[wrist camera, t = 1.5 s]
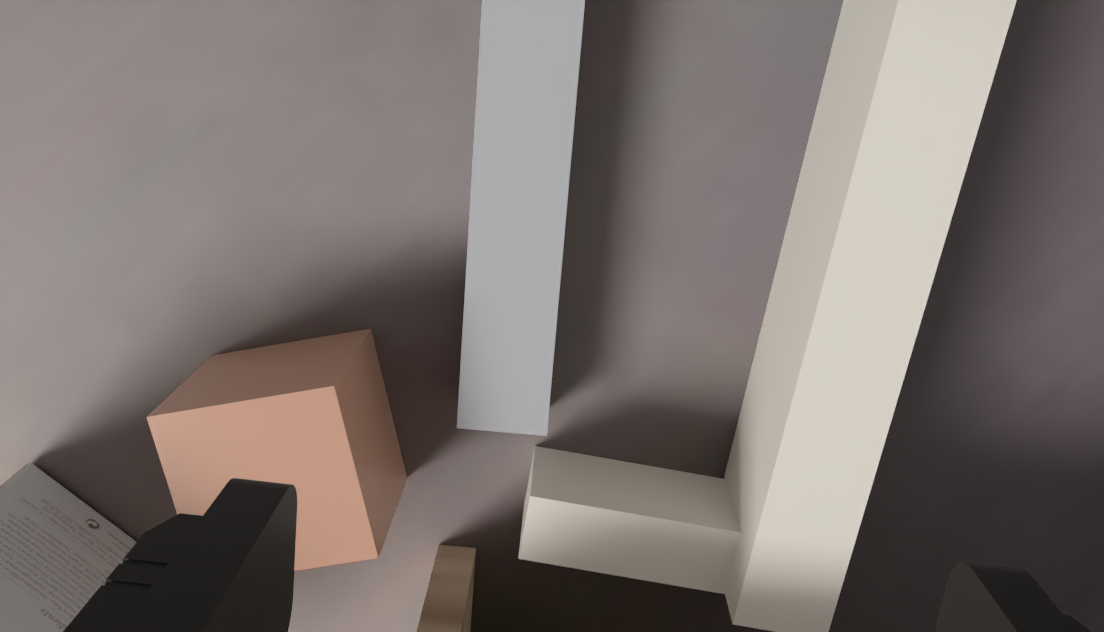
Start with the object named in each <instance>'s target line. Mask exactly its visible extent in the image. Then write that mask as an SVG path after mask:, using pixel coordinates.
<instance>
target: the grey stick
mask: <svg viewBox="0 0 1104 632" xmlns="http://www.w3.org/2000/svg"><path fill="white" fill-rule="evenodd" d="M584 7H585V0H482V12H481V28H480V45H479V62H478V79H477V95H476V112H475V129H474V146H473V162H472V179H471V196H470V213H469V229H468V246H467V263H466V280H465V296H464V313H463V330H462V347H461V363H460V380H459V397H458V414H457V428H459V429H471V430H483V431H494V432H506V433H518V434H530V435H542V436H547V429H548V417H549V406H550V395H551V383H552V372H553V360H554V349H555V338H556V326H557V315H558V304H559V292H560V281H561V269H562V258H563V247H564V235H565V224H566V212H567V201H568V190H569V178H570V167H571V155H572V144H573V133H574V121H575V110H576V98H577V87H578V76H579V64H580V53H581V42H582V30H583V19H584Z"/></svg>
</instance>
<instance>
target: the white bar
mask: <svg viewBox="0 0 1104 632" xmlns="http://www.w3.org/2000/svg"><path fill="white" fill-rule="evenodd" d="M1016 1H1017V0H844V1H843V5H842V9H841V13H840V17H839V21H838V25H837V29H836V33H835V37H834V41H833V45H832V49H831V53H830V57H829V61H828V65H827V69H826V73H825V77H824V81H823V85H822V89H821V93H820V97H819V101H818V105H817V109H816V113H815V117H814V121H813V124H812V128H811V132H810V136H809V140H808V144H807V148H806V152H805V156H804V160H803V164H802V168H801V172H800V176H799V180H798V184H797V188H796V192H795V196H794V200H793V204H792V208H791V212H790V216H789V220H788V224H787V228H786V232H785V236H784V240H783V244H782V248H781V252H780V256H779V260H778V264H777V268H776V272H775V276H774V280H773V284H772V288H771V292H770V296H769V300H768V304H767V308H766V312H765V316H764V320H763V324H762V328H761V332H760V336H759V340H758V344H757V348H756V352H755V356H754V360H753V364H752V368H751V372H750V376H749V380H748V384H747V388H746V391H745V395H744V399H743V403H742V407H741V411H740V415H739V419H738V423H737V427H736V431H735V435H734V439H733V443H732V447H731V451H730V455H729V459H728V463H727V467H726V471H725V475H724V479H722V478H717V477H711V476H705V475H699V474H694V473H688V472H682V471H676V470H671V469H665V468H659V467H653V466H648V465H642V464H636V463H630V462H625V461H619V460H613V459H607V458H602V457H596V456H590V455H584V454H579V453H573V452H567V451H561V450H556V449H550V448H544V447H538V446H535V449H534V454H533V459H532V464H531V470H530V475H529V480H528V486H527V491H526V496H525V501H524V509H523V519H522V528H521V538H520V547H519V556H518V559H523V560H528V561H534V562H540V563H546V564H552V565H558V566H563V567H569V568H575V569H581V570H587V571H593V572H598V573H604V574H610V575H616V576H622V577H628V578H633V579H639V580H645V581H651V582H657V583H663V584H668V585H674V586H680V587H686V588H692V589H698V590H703V591H709V592H715V593H721V594H725V597H726V601H727V605H728V609H729V612H730V616H731V620H732V624H733V625H739V626H745V627H751V628H756V629H762V630H768V631H774V632H829V629H830V625H831V622H832V619H833V615H834V612H835V608H836V605H837V602H838V598H839V595H840V592H841V588H842V585H843V582H844V578H845V575H846V572H847V568H848V565H849V561H850V558H851V555H852V551H853V548H854V545H855V541H856V538H857V535H858V531H859V528H860V525H861V521H862V518H863V515H864V511H865V508H866V504H867V501H868V498H869V494H870V491H871V488H872V484H873V481H874V478H875V474H876V471H877V468H878V464H879V461H880V457H881V454H882V451H883V447H884V444H885V441H886V437H887V434H888V431H889V427H890V424H891V421H892V417H893V414H894V411H895V407H896V404H897V400H898V397H899V394H900V390H901V387H902V384H903V380H904V377H905V374H906V370H907V367H908V364H909V360H910V357H911V353H912V350H913V347H914V343H915V340H916V337H917V333H918V330H919V327H920V323H921V320H922V317H923V313H924V310H925V307H926V303H927V300H928V296H929V293H930V290H931V286H932V283H933V280H934V276H935V273H936V270H937V266H938V263H939V260H940V256H941V253H942V249H943V246H944V243H945V239H946V236H947V233H948V229H949V226H950V223H951V219H952V216H953V213H954V209H955V206H956V203H957V199H958V196H959V192H960V189H961V186H962V182H963V179H964V176H965V172H966V169H967V166H968V162H969V159H970V156H971V152H972V149H973V145H974V142H975V139H976V135H977V132H978V129H979V125H980V122H981V119H982V115H983V112H984V109H985V105H986V102H987V99H988V95H989V92H990V88H991V85H992V82H993V78H994V75H995V72H996V68H997V65H998V62H999V58H1000V55H1001V52H1002V48H1003V45H1004V41H1005V38H1006V35H1007V31H1008V28H1009V25H1010V21H1011V18H1012V15H1013V11H1014V8H1015V5H1016Z"/></svg>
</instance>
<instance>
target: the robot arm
mask: <svg viewBox="0 0 1104 632" xmlns="http://www.w3.org/2000/svg"><path fill="white" fill-rule="evenodd" d="M296 521H297V492H296V488H295V486H294V485H291V484H282V483H274V482H265V481H256V480H247V479H238V478H232V479H230V480H229V481H228V483H227V484H226V485H225V487H224V488H223V489H222V491H221V492H220V493H219V495H218V496H217V498H216V499H215V500H214V502H213V503H212V504H211V506H210V507H209V508H208V510H207V511H206V512H205V514H204V515H203V516H200V515H191V514H182V513H179V514H178V515H176V516H174V517H172V518H170V519H169V520H167V521H165V522H163V523H161V524H160V525H158V526H156V527H154V528H152V529H151V530H149V531H147V532H145V533H144V534H143V535H142V536H141V538H140V539H139V540H138V541H137V542H136V544H135V545H134V546H133V547H132V549H131V550H130V551H129V552H128V553H127V555H126V556H125V557H124V558H123V563H122V564H118V566H117V567H116V568H115V569H114V570H113V572H112V573H111V574H110V575H109V576H108V578H107V579H106V583H105V585H101V586H100V587H99V589H98V590H97V591H96V592H95V593H94V595H93V596H92V597H91V598H90V600H89V601H88V602H87V603H86V604H85V606H84V607H83V608H82V609H81V610H80V612H79V613H78V614H77V615H76V617H75V618H74V619H73V620H72V621H71V623H70V624H69V625H68V626H67V627H66V629H65V630H64V631H63V632H288V627H289V623H290V617H291V610H292V602H293V584H294V563H295V542H296ZM934 632H1091V631H1090V630H1088V629H1087V628H1085V627H1084V626H1083V625H1081V624H1080V623H1078V622H1077V621H1076V620H1074V619H1073V618H1071V617H1070V616H1067V615H1063V614H1062V613H1061V612H1060V611H1059V610H1058V608H1057V607H1056V606H1055V605H1054V603H1053V602H1052V601H1051V600H1050V598H1049V597H1048V596H1047V595H1046V594H1045V592H1044V591H1043V590H1042V589H1041V587H1040V586H1039V585H1038V584H1037V583H1036V581H1035V580H1034V579H1033V578H1032V576H1031V575H1030V574H1029V573H1028V572H1026V571H1025V570H1022V569H1014V568H1006V567H997V566H988V565H979V564H971V563H959V564H957V565H956V566H955V567H954V568H953V569H952V571H951V573H950V575H949V577H948V580H947V583H946V587H945V591H944V595H943V599H942V602H941V606H940V610H939V614H938V618H937V622H936V625H935V629H934Z"/></svg>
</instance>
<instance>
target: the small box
mask: <svg viewBox="0 0 1104 632" xmlns="http://www.w3.org/2000/svg"><path fill="white" fill-rule="evenodd" d="M135 544H136V541H135V540H134V539H132V538H131V537H130V536H128V535H127V534H126V533H124V532H123V531H122V530H120V529H119V528H118V527H116V526H115V525H114V524H112V523H111V522H110V521H108V520H107V519H105V518H104V517H103V516H101V515H100V514H99V513H97V512H96V511H95V510H93V509H92V508H91V507H89V506H88V505H87V504H85V503H84V502H83V501H81V500H80V499H79V498H78V497H76V496H75V495H74V494H72V493H71V492H70V491H68V490H67V489H66V488H64V487H63V486H62V485H60V484H59V483H57V482H56V481H55V480H53V479H52V478H51V477H49V476H48V475H47V474H45V473H44V472H43V471H41V470H40V469H39V468H38V467H36V466H35V465H34V464H31V463H29V464H27V465H25V466H24V467H23V468H22V469H21V470H19V471H18V472H17V473H16V474H15V475H13V476H12V477H11V478H10V479H9V480H7V481H6V482H5V483H4V484H3V485H1V486H0V632H63V631H64V630H65V629H66V627H67V626H68V625H69V624H70V623H71V621H72V620H73V619H74V618H75V617H76V615H77V614H78V613H79V612H80V610H81V609H82V608H83V607H84V606H85V604H86V603H87V602H88V601H89V600H90V598H91V597H92V596H93V595H94V593H95V592H96V591H97V590H98V589H99V587H100V586H101V585H105V583H106V579H107V578H108V576H109V575H110V574H111V573H112V572H113V570H114V569H115V568H116V567H117V566H118V564H122V563H123V558H124V557H125V556H126V555H127V553H128V552H129V551H130V550H131V549H132V547H133V546H134V545H135Z"/></svg>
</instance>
